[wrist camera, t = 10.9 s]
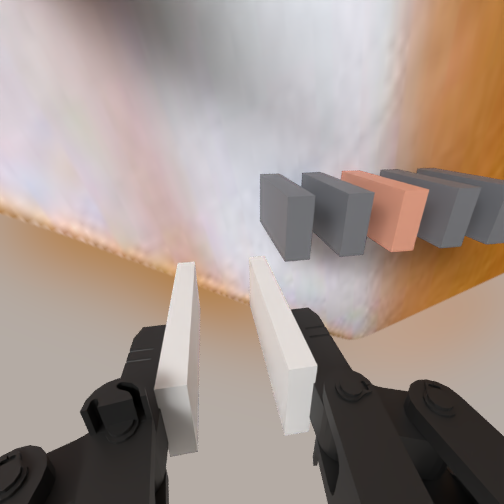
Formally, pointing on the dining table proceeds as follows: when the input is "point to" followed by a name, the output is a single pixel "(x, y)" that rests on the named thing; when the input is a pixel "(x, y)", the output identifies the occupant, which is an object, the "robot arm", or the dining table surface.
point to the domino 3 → (391, 209)
